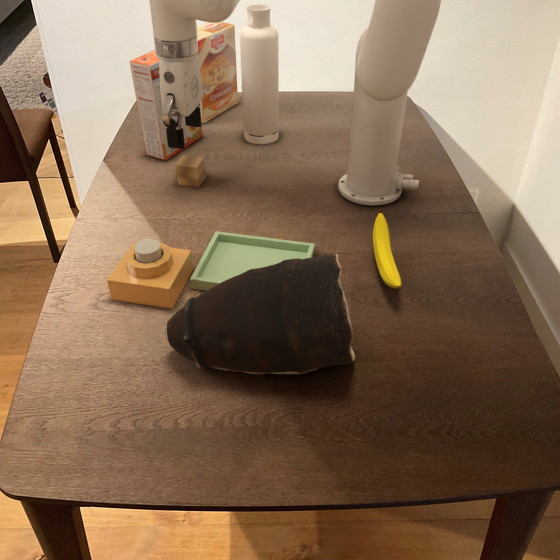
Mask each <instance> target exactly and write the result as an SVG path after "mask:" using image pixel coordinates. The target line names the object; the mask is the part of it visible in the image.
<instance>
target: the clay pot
mask: <svg viewBox="0 0 560 560" xmlns="http://www.w3.org/2000/svg"><path fill="white" fill-rule="evenodd" d="M342 268H343V267H342V265H341V263H340V259H339V254H338V253H329V254H323V255H318V256H313V257H312V258H305V259H300V258H296V259H287V260H283V261H282V262H280V263H277V264H274V265H270V266H266V267H262V268H255V269H250V270H248V271H246V272H244V273H242V274H240V275H237V276H234V277H232V278H230V279H227V280H225V281H223V282H221V283H220V284H218V285H216V286H214V287H212V288H210V289H208V290H207V291H205V290H204V292H201V293H200V294H199V295H198V296H193V297H190V298H188V299H186V302H185V304H184V306H183V307H181V308H180V309H179V310H177V311H176V312H175V313H174V314H172V316H171V317H170V318H169V319H167V321H166V323H165V326H164V334H165V335H164V336H165V338H166V340H167V343H168V344H169V346H170V347H171V348H172V349H173V350H174V351H175V352H176V353H177V354H179V355H180V356H182V357H183V358H185V360H187V361H189V362H190V363H192V364H193V365H194V366H196V367H197V368H201V367H202V368H208V369H209V368H212V369H215V370H216V369H217V370H223V371H231V372H232V371H233V372H239V373H240V372H241V373H246V374H249V375H251V374H252V375H264V374H266V375H267V374H272V375H273V374H275V375H303V374H306V373H309V372H313V371H316V370H319V369H322V368H326V367H333V366H338V365H345V364H350V363H353V362H354V361H355V359H356V354H355V352H354V350H353V346H352V343H353V340H354V330H353V325H352V321H351V313H350V309H349V304H348V299H347V298H346V294H345V291H344V289H343V286H342V283H341V282H342Z"/></svg>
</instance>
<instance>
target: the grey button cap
mask: <svg viewBox="0 0 560 560" xmlns="http://www.w3.org/2000/svg"><path fill="white" fill-rule="evenodd" d="M160 242H161V241H159V240H157V239H156V238H143V239H141V240H138V241H137V242H135V243H136V244H135V245H134V251H135V256H136V260H137V261H138V262H139V263H145V264H148V263H153V262H156V261H158V260H159V259H161V257H162V251H161V245H160Z"/></svg>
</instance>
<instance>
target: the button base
mask: <svg viewBox="0 0 560 560" xmlns="http://www.w3.org/2000/svg"><path fill="white" fill-rule="evenodd" d="M159 242H160V245H161V251H162V257H161V259H159V260H158V261H156V262H153V263H148V264H145V263H139V262H138V261H137V260H136V256H135V251H134V245H135V244H136V243H137V242H133V243H132V244H131V245H130V247H129V248H128V250H127V251H126V253H125V254H124V256H123V257H122V258H121V260H120V261H119V262H118V264H117V265H116V267H115V268H114V269H113V271H112V272H111V274H110V275H109V277H108V278H107V279H106V281H107V286H108V290H109V294H110V299H111V300H112V301H117V302H118V301H119V302H125V303H132V304H138V305H145V306H152V307H157V308H164V309H170V310H172V309H174V307H175V304H176V303H177V302H178V299H179V297H180V295H181V294H182V292H183V290H184V288H185V286H186V284H187V282H188V281H189V280H190V278H191V276H192V274H193V273H194V271H195V269H194V261H193V252H192V250H191V249H185V248H178V247H171V246H169V245H167V244H166V243H164V242H161V241H159Z"/></svg>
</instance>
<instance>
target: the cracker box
mask: <svg viewBox="0 0 560 560" xmlns="http://www.w3.org/2000/svg"><path fill="white" fill-rule="evenodd" d="M129 67H130V72H131V77H132V82H133V88H134V95H135V100H136V104H137V111H138V115H139V117H138V118H139V120H140V128H141V134H142V139H143V143H144V149H145V155H146V156H148V157H152V158H155V159H159V160H162V161H167V160H169V159H170V158H172V157H174V156H175V155H177V154H178V153H180V152H181V151H183V150H184V149H186V148H187V147H189V146H191V145H192V144H193V143H195V142H197V141H198V140H200V139H201V138H203V136H204V134H203V125H202V123H201V126H200V127H192V126H186V124H185V116H184V115H183V117H182V124H181V128H183V132H184V142H185V147H184V149H178V148H170V147H168V143H167V134H166V129H165V125H164V123H163V118H162V116H161V112H162V109H163V107H162V100H161V91H160V75H159V58H157V57H156V52H155V49H154V50H152V51H149V52H147V53H144V54H142V55H140V56H137V57H135V58H133V59H131V60H129ZM197 107H198V106H197ZM199 107H200V106H199ZM172 111H177V112H179V111H178V110H176V109H173V110H172ZM177 117H178V116H172V119H174V120H175V121H176V122H177Z"/></svg>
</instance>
